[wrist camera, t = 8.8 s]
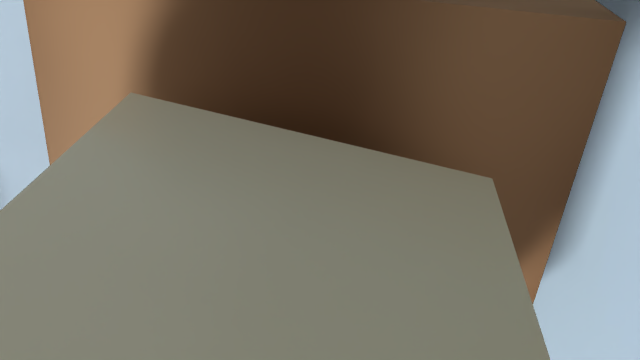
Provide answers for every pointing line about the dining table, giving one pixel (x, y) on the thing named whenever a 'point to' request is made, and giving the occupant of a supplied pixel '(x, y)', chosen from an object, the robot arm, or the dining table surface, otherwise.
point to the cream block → (255, 250)
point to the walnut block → (355, 81)
